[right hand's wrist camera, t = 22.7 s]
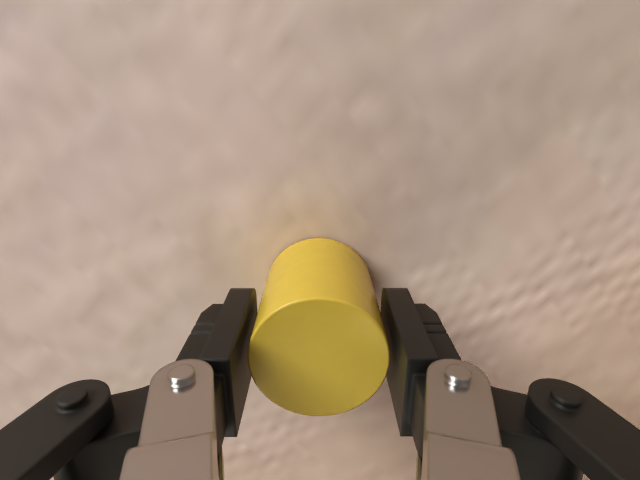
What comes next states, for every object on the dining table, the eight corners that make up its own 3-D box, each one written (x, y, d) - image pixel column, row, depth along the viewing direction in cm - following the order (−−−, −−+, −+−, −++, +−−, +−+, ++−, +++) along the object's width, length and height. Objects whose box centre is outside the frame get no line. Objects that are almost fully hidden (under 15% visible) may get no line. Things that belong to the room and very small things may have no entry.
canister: (385, 308, 14) (410, 390, 10) (294, 343, 15) (285, 433, 11) (347, 221, 13) (358, 275, 9) (249, 261, 13) (221, 329, 10)
